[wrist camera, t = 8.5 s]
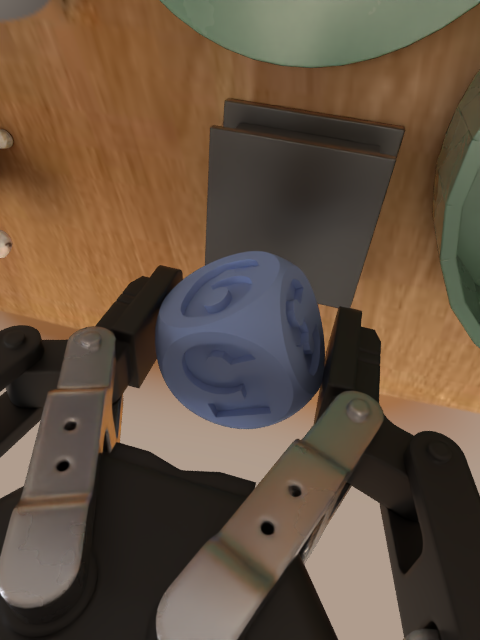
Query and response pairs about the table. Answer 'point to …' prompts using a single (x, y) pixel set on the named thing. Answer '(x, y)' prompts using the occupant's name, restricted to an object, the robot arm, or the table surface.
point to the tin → (461, 210)
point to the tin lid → (316, 27)
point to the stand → (299, 190)
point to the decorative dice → (242, 341)
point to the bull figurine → (3, 243)
